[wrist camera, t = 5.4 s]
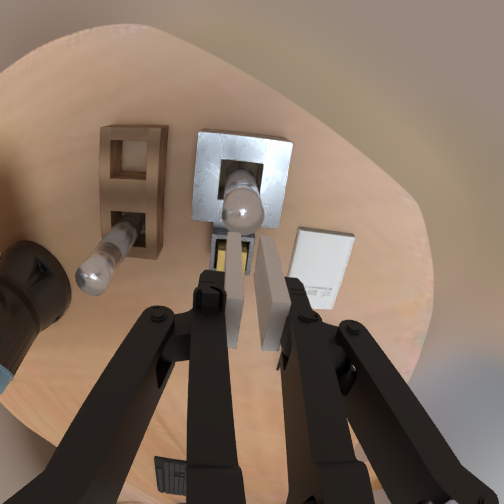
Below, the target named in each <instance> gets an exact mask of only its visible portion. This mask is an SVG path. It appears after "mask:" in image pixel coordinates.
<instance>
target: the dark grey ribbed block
mask: <svg viewBox="0 0 504 504" xmlns="http://www.w3.org/2000/svg"><path fill="white" fill-rule="evenodd" d="M154 461H155V470H156V478H157V486H158V491H160V492H161V493H164V492H166V493H167V494H169V493H170V494H173V493H174V495H183V496H186V465H187V461H183V460H176V459H170V458H164V457H158V456H155V457H154Z"/></svg>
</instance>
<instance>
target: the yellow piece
mask: <svg viewBox="0 0 504 504" xmlns="http://www.w3.org/2000/svg"><path fill="white" fill-rule="evenodd" d="M226 243H227V240H226V239H219V249H218V260H217V271H223V269H224V260H225V251H226ZM241 246H242V268H243V278H244V272H245V265H246V258H247V245H246V241H241Z"/></svg>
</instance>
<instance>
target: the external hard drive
mask: <svg viewBox="0 0 504 504" xmlns="http://www.w3.org/2000/svg"><path fill="white" fill-rule="evenodd" d="M354 240H355V236H354V235H353V234H348V233H341V232H333V231H326V230H318V229H311V228H303V227H298V231H297V236H296V240H295V245H294V250H293V254H292V259H291V263H290V268H289V272H288V276H287V277H293V278H298V279H299V280H300V281H301V282H302V283H303V285H304V288H305V291H306V293H307V296H308V299H309V302H310V305H311V308H314V309H332V308H333V305H334V302H335V300H336V297H337V294H338V291H339V288H340V285H341V282H342V279H343V276H344V273H345V270H346V266H347V263H348V260H349V257H350V254H351V250H352V247H353V243H354Z"/></svg>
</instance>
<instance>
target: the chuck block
mask: <svg viewBox="0 0 504 504" xmlns="http://www.w3.org/2000/svg"><path fill="white" fill-rule="evenodd" d="M292 145H293V143H292V142H291V141H289V140H287V139H286V138H280V137H273V136H266V135H259V134H251V133H242V132H233V131H223V130H212V129H202V130H201V131H199V133H198V142H197V153H196V164H195V175H194V188H193V202H192V217H191V220H196V221H207V222H214V223H213V232H212V241H211V253H210V266H209V270H214V271H217V260H218V250H216V239H226V240H227V234H228V232H230V231H229V230H228V229H227V228H226V227H225V225H224V223H223V220H222V208H223V199H224V190H225V189H224V188H219V184H220V175H221V166H222V159H228V160H238V161H247V162H255V163H260V164H259V171H258V178H257V188H258V191H259V195H260V198H261V202H262V205H263V209H264V214H265V217H264V221H263V224H262V226H261V227H267V228H277V229H278V228H279V222H280V216H281V211H282V205H283V199H284V193H285V187H286V181H287V175H288V169H289V163H290V157H291V151H292ZM241 241H246V245H247V258H246V265H245V272H244V275H250V269H251V263H252V256H253V249H254V242H255V234H254V233H252V234H249V235H241Z"/></svg>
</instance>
